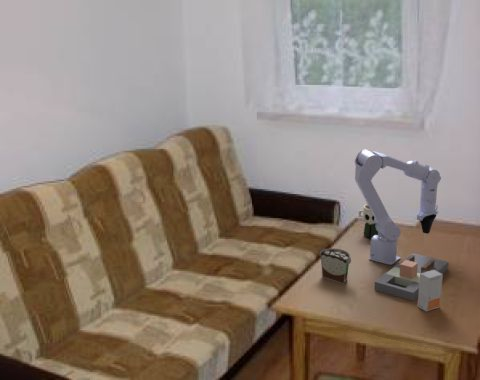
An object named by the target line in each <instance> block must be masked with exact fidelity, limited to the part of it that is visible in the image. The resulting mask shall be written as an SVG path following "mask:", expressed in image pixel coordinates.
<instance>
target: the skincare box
mask: <svg viewBox="0 0 480 380" xmlns="http://www.w3.org/2000/svg"><path fill="white" fill-rule="evenodd" d="M443 276H444V273H443V274H441V273H439V272H437V271H435V270H431V271H427V272H424V273H421V274H420V281H419V294H418V297H417V308H419V309H421V310H423V311H425V312H429V311H432V310H436V309H440V308H441V301H442V300H441V299H442V298H441V297H442V290H443V289H442V288H443Z"/></svg>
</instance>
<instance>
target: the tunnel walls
mask: <svg viewBox="0 0 480 380" xmlns="http://www.w3.org/2000/svg"><path fill="white" fill-rule="evenodd" d="M409 255H410V254H409ZM409 255H408V256H407V258H406V257H405V258H406V259H405V258H404V259H405V260H409V261H412V262H414V261H415V255H410V256H409ZM404 259H403V260H401V261H402V262H404V261H405V260H404ZM401 261H400V262H401ZM402 262H401V263H402ZM434 262H435V260H429V261H428V262H427V263H426V264H424V265H423V266H422V267H421V273H424V272H427V271H430V270H431V269H432V268H433V267H434Z"/></svg>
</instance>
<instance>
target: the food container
mask: <svg viewBox="0 0 480 380" xmlns="http://www.w3.org/2000/svg"><path fill="white" fill-rule="evenodd" d="M318 256H320V264H321V277H322V278H325V279H327V280H330V281H334V282H336V283H338V284H339V283H340V284H343V285H345V284H347V282H348V276H349V275H348V274H349V265H350V264H351V263H352V259H351V254H350V253H349V252H348V251H346V250H344V249H341V248H325V249H321V250H320V252H319V255H318Z"/></svg>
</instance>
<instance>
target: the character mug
mask: <svg viewBox="0 0 480 380" xmlns="http://www.w3.org/2000/svg"><path fill="white" fill-rule="evenodd" d="M362 213H363V214H362ZM358 217H359V218H362V219H363V221H364V222H365V224H364V228H363V236H364V237H367V238H371V239H372V237H373V236H374V235H378V231H377V230H376V227H375V226H376V223H375V221H374V218H375V217H374V215H373V214H372V212H371V210H370V208H369V206H368V204H367V203H366V204H364V205H363V208H362V209H359V210H358Z"/></svg>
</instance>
